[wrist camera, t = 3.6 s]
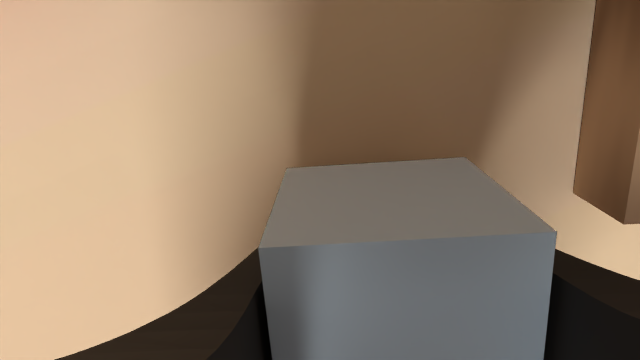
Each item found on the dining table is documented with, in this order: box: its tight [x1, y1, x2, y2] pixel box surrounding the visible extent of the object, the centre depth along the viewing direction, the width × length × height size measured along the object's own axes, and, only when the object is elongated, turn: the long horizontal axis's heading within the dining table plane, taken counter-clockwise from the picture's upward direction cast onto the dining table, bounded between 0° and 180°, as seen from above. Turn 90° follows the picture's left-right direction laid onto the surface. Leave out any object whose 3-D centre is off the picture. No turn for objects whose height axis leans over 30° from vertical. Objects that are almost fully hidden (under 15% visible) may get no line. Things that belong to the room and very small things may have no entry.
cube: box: [258, 157, 557, 360], centre depth 10 cm, size 5×5×5 cm
